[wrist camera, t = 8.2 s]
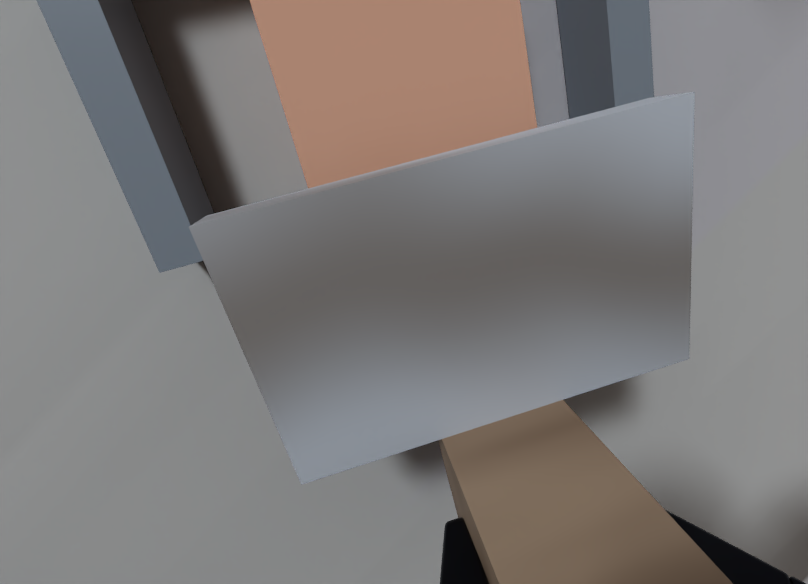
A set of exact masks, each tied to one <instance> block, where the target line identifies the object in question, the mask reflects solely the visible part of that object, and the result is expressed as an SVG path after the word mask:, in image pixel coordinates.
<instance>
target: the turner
mask: <svg viewBox="0 0 808 584" xmlns="http://www.w3.org/2000/svg"><path fill="white" fill-rule="evenodd" d="M694 94H695V92H689V93H682V94H674V95H667V96H659V97H652V98H647V99H643V100H639V101H635V102H632V103H628V104H624V105H620V106H617V107H613V108H609V109H605V110H602V111H598V112H594V113H590V114H587V115H583V116H579V117H575V118H572V119H568V120H564V121H560V122H556V123H553V124H549V125H545V126H541V127H538V128H534V129H530V130H526V131H523V132H519V133H515V134H511V135H508V136H504V137H500V138H496V139H493V140H489V141H485V142H481V143H478V144H474V145H470V146H466V147H462V148H459V149H455V150H451V151H447V152H444V153H440V154H436V155H432V156H429V157H425V158H421V159H417V160H414V161H410V162H406V163H402V164H399V165H395V166H391V167H387V168H384V169H380V170H376V171H372V172H369V173H365V174H361V175H357V176H353V177H350V178H346V179H342V180H338V181H335V182H331V183H327V184H323V185H320V186H316V187H312V188H308V189H305V190H301V191H297V192H293V193H290V194H286V195H282V196H278V197H275V198H271V199H267V200H263V201H260V202H256V203H252V204H248V205H244V206H241V207H237V208H233V209H229V210H226V211H222V212H218V213H214V214H211V215H207V216H205V217H204V218H202V219H200V220H199V221H197V222H196V223H194V224H193V225H191V226H189V229H190V231H191V234H192V236H193V238H194V241H195V243H196V245H197V247H198V250H199V252H200V254H201V256H202V259H203V261H204V263H205V266H206V268H207V270H208V272H209V275H210V277H211V279H212V282H213V284H214V286H215V288H216V291H217V293H218V295H219V298H220V300H221V302H222V304H223V307H224V309H225V311H226V314H227V316H228V318H229V320H230V323H231V325H232V327H233V330H234V332H235V334H236V336H237V339H238V341H239V343H240V346H241V348H242V350H243V352H244V355H245V357H246V359H247V361H248V364H249V366H250V368H251V371H252V373H253V375H254V377H255V380H256V382H257V384H258V387H259V389H260V391H261V393H262V396H263V398H264V400H265V403H266V405H267V407H268V409H269V412H270V414H271V416H272V419H273V421H274V423H275V425H276V428H277V430H278V432H279V435H280V437H281V439H282V441H283V444H284V446H285V448H286V451H287V453H288V455H289V457H290V460H291V462H292V464H293V466H294V469H295V471H296V473H297V476H298V478H299V480H300V482H301V485H302V484H305V483H308V482H311V481H314V480H317V479H320V478H323V477H326V476H330V475H333V474H336V473H339V472H342V471H345V470H348V469H351V468H354V467H357V466H360V465H363V464H367V463H370V462H373V461H376V460H379V459H382V458H385V457H388V456H391V455H394V454H397V453H400V452H403V451H407V450H410V449H413V448H416V447H419V446H422V445H425V444H428V443H431V442H434V441H437V440H438V442H439V446H440V449H441V453H442V457H443V461H444V465H445V469H446V472H447V476H448V480H449V484H450V488H451V491H452V495H453V499H454V503H455V507H456V511H457V514H458V518H460V517H462V518H464V521H465V523H466V526H467V528H468V531H469V533H470V536H471V538H472V541H473V543H474V546H475V548H476V551H477V553H478V556H479V558H480V561H481V563H482V566H483V568H484V571H485V573H486V576H487V579H488V583H489V584H733V583H732V582H731V581H730V580H729V579H728V578H727V577H726V576H725V574H724V573H723V572H722V571H721V570H720V569H719V568H718V567H717V566H716V565H715V564H714V563H713V561H712V560H711V559H710V558H709V557H708V556H707V555H706V554H705V553H704V552H703V551H702V550H701V549H700V547H699V546H698V545H697V544H696V543H695V542H694V541H693V540H692V539H691V538H690V537H689V536H688V534H687V533H686V532H685V531H684V530H683V529H682V528H681V527H680V526H679V525H678V524H677V523H676V521H675V520H674V519H673V518H672V517H671V516H670V515H669V514H668V513H667V512H666V511H665V510H664V509H663V507H662V506H661V505H660V504H659V503H658V502H657V501H656V500H655V499H654V498H653V497H652V496H651V494H650V493H649V492H648V491H647V490H646V489H645V488H644V487H643V486H642V485H641V484H640V483H639V481H638V480H637V479H636V478H635V477H634V476H633V475H632V474H631V473H630V472H629V471H628V470H627V468H626V467H625V466H624V465H623V464H622V463H621V462H620V461H619V460H618V459H617V458H616V457H615V456H614V454H613V453H612V452H611V451H610V450H609V449H608V448H607V447H606V446H605V445H604V444H603V443H602V441H601V440H600V439H599V438H598V437H597V436H596V435H595V434H594V433H593V432H592V431H591V430H590V428H589V427H588V426H587V425H586V424H585V423H584V422H583V421H582V420H581V419H580V418H579V417H578V416H577V414H576V413H575V412H574V411H573V410H572V409H571V408H570V407H569V406H568V405H567V404H566V403H565V401H564V399H567V398H570V397H573V396H576V395H579V394H582V393H585V392H588V391H591V390H594V389H598V388H601V387H604V386H607V385H610V384H613V383H616V382H619V381H622V380H625V379H628V378H631V377H635V376H638V375H641V374H644V373H647V372H650V371H653V370H656V369H659V368H662V367H665V366H668V365H671V364H675V363H678V362H681V361H684V360H687V359H689V349H690V298H691V247H692V196H693V145H694Z"/></svg>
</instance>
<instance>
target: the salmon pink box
mask: <svg viewBox="0 0 808 584" xmlns="http://www.w3.org/2000/svg"><path fill="white" fill-rule="evenodd" d="M250 3H251V6H252V10H253V13H254V16H255V19H256V22H257V26H258V29H259V32H260V35H261V38H262V42H263V45H264V48H265V51H266V54H267V58H268V61H269V64H270V67H271V70H272V74H273V77H274V80H275V83H276V86H277V90H278V93H279V96H280V99H281V102H282V106H283V109H284V112H285V115H286V118H287V122H288V125H289V128H290V131H291V134H292V138H293V141H294V144H295V147H296V150H297V154H298V157H299V160H300V163H301V166H302V170H303V173H304V176H305V179H306V182H307V186H308V188H312V187H316V186H320V185H323V184H327V183H331V182H335V181H338V180H342V179H346V178H350V177H353V176H357V175H361V174H365V173H369V172H372V171H376V170H380V169H384V168H387V167H391V166H395V165H399V164H402V163H406V162H410V161H414V160H417V159H421V158H425V157H429V156H432V155H436V154H440V153H444V152H447V151H451V150H455V149H459V148H462V147H466V146H470V145H474V144H478V143H481V142H485V141H489V140H493V139H496V138H500V137H504V136H508V135H511V134H515V133H519V132H523V131H526V130H530V129H534V128H537V123H536V115H535V108H534V101H533V93H532V86H531V79H530V71H529V64H528V57H527V49H526V42H525V35H524V27H523V20H522V13H521V5H520V0H250Z"/></svg>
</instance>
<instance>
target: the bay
mask: <svg viewBox="0 0 808 584" xmlns="http://www.w3.org/2000/svg"><path fill="white" fill-rule="evenodd" d="M37 2H38V4H39V7H40V9H41V11H42V13H43V16H44V18H45V20H46V22H47V24H48V27H49V29H50V31H51V33H52V35H53V38H54V40H55V42H56V44H57V47H58V49H59V51H60V53H61V55H62V58H63V60H64V62H65V64H66V66H67V69H68V71H69V73H70V75H71V78H72V80H73V82H74V84H75V86H76V89H77V91H78V93H79V95H80V97H81V100H82V102H83V104H84V106H85V109H86V111H87V113H88V115H89V117H90V120H91V122H92V124H93V126H94V128H95V131H96V133H97V135H98V137H99V140H100V142H101V144H102V146H103V148H104V151H105V153H106V155H107V157H108V159H109V162H110V164H111V166H112V168H113V171H114V173H115V175H116V177H117V179H118V182H119V184H120V186H121V188H122V190H123V193H124V195H125V197H126V199H127V202H128V204H129V206H130V208H131V210H132V213H133V215H134V217H135V219H136V222H137V224H138V226H139V228H140V230H141V233H142V235H143V237H144V239H145V241H146V244H147V246H148V248H149V250H150V253H151V255H152V257H153V259H154V261H155V264H156V266H157V268H158V270H159V272H164V271H167V270H171V269H175V268H178V267H182V266H186V265H189V264H193V263H197V262H200V261H203V259H202V256H201V254H200V252H199V250H198V247H197V245H196V243H195V241H194V238H193V236H192V234H191V231H190V229H189V226H191V225H193V224H194V223H196V222H197V221H199V220H200V219H202V218H204V217H205V216H207V215H211V214H214V212H213V209H212V206H211V204H210V201H209V199H208V196H207V194H206V191H205V189H204V186H203V183H202V181H201V178H200V176H199V173H198V171H197V168H196V165H195V163H194V160H193V158H192V155H191V153H190V150H189V148H188V145H187V142H186V140H185V137H184V135H183V132H182V130H181V127H180V124H179V122H178V119H177V117H176V114H175V112H174V109H173V107H172V104H171V101H170V99H169V96H168V94H167V91H166V89H165V86H164V83H163V81H162V78H161V76H160V73H159V71H158V68H157V66H156V63H155V60H154V58H153V55H152V53H151V50H150V48H149V45H148V42H147V40H146V37H145V35H144V32H143V30H142V27H141V24H140V22H139V19H138V17H137V14H136V12H135V9H134V7H133V4H132V1H131V0H37ZM556 3H557V12H558V20H559V29H560V38H561V47H562V55H563V64H564V73H565V82H566V91H567V99H568V108H569V117H570V119H572V118H575V117H579V116H583V115H587V114H590V113H594V112H598V111H602V110H605V109H609V108H613V107H617V106H620V105H624V104H628V103H632V102H635V101H639V100H643V99H647V98H652V97H654V88H653V70H652V51H651V33H650V14H649V0H556Z"/></svg>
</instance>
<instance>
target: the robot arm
mask: <svg viewBox="0 0 808 584" xmlns="http://www.w3.org/2000/svg"><path fill="white" fill-rule="evenodd" d="M664 510H665V509H664ZM665 511H666V510H665ZM666 512H667V513H668V514H669V515H670V516H671V517H672V518H673V519H674V520H675V521H676V523H677V524H678V525H679V526H680V527H681V528H682V529H683V530H684V531H685V532H686V533H687V534H688V536H689V537H690V538H691V539H692V540H693V541H694V542H695V543H696V544H697V545H698V546H699V547H700V549H701V550H702V551H703V552H704V553H705V554H706V555H707V556H708V557H709V558H710V559H711V560H712V561H713V563H714V564H715V565H716V566H717V567H718V568H719V569H720V570H721V571H722V572H723V573H724V574H725V576H726V577H727V578H728V579H729V580H730V581H731V582H732V583H733V584H806V583H804V582H802V581H800V580H798V579H796V578H794V577H790V578H789V577H788V575H787V574H786V573H784V572H783V571H781V570H779V569H777V568H775V567H773V566H771V565H769V564H767V563H765V562H764V561H762V560H760V559H758V558H756V557H754V556H752V555H750V554H748V553H746V552H744V551H743V550H741V549H739V548H737V547H735V546H733V545H731V544H729V543H727V542H725V541H724V540H722V539H720V538H718V537H716V536H714V535H712V534H710V533H708V532H706V531H705V530H703V529H701V528H699V527H697V526H695V525H693V524H691V523H689V522H687V521H686V520H684V519H682V518H680V517H678V516H676V515H674V514H672V513H670V512H668V511H666ZM440 584H489V583H488V579H487V576H486V573H485V571H484V568H483V566H482V563H481V561H480V558H479V556H478V553H477V551H476V548H475V546H474V543H473V541H472V538H471V536H470V533H469V531H468V528H467V526H466V523H465V521H464V518H462V517H460V518H457V519H454V520H451V521H448V522H447V523H446V525H445V531H444V542H443V554H442V565H441V577H440Z"/></svg>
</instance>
